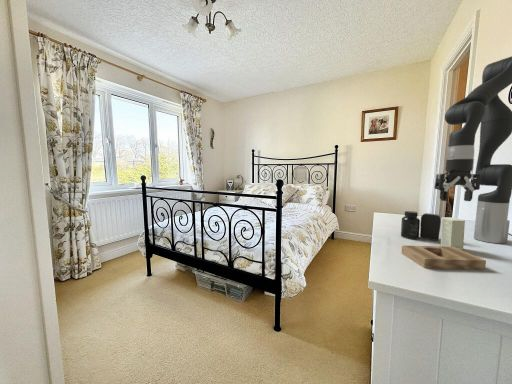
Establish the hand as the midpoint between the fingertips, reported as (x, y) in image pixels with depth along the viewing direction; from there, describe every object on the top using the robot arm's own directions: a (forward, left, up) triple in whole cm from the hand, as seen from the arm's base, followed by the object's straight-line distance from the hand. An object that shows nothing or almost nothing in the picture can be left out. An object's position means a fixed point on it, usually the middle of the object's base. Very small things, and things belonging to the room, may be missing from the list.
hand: (455, 200), depth 82 cm
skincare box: (0, 0, -19) cm, 19 cm away
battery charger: (-1, -13, -19) cm, 23 cm away
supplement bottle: (+7, -14, -19) cm, 25 cm away
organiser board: (+13, +12, -19) cm, 26 cm away
